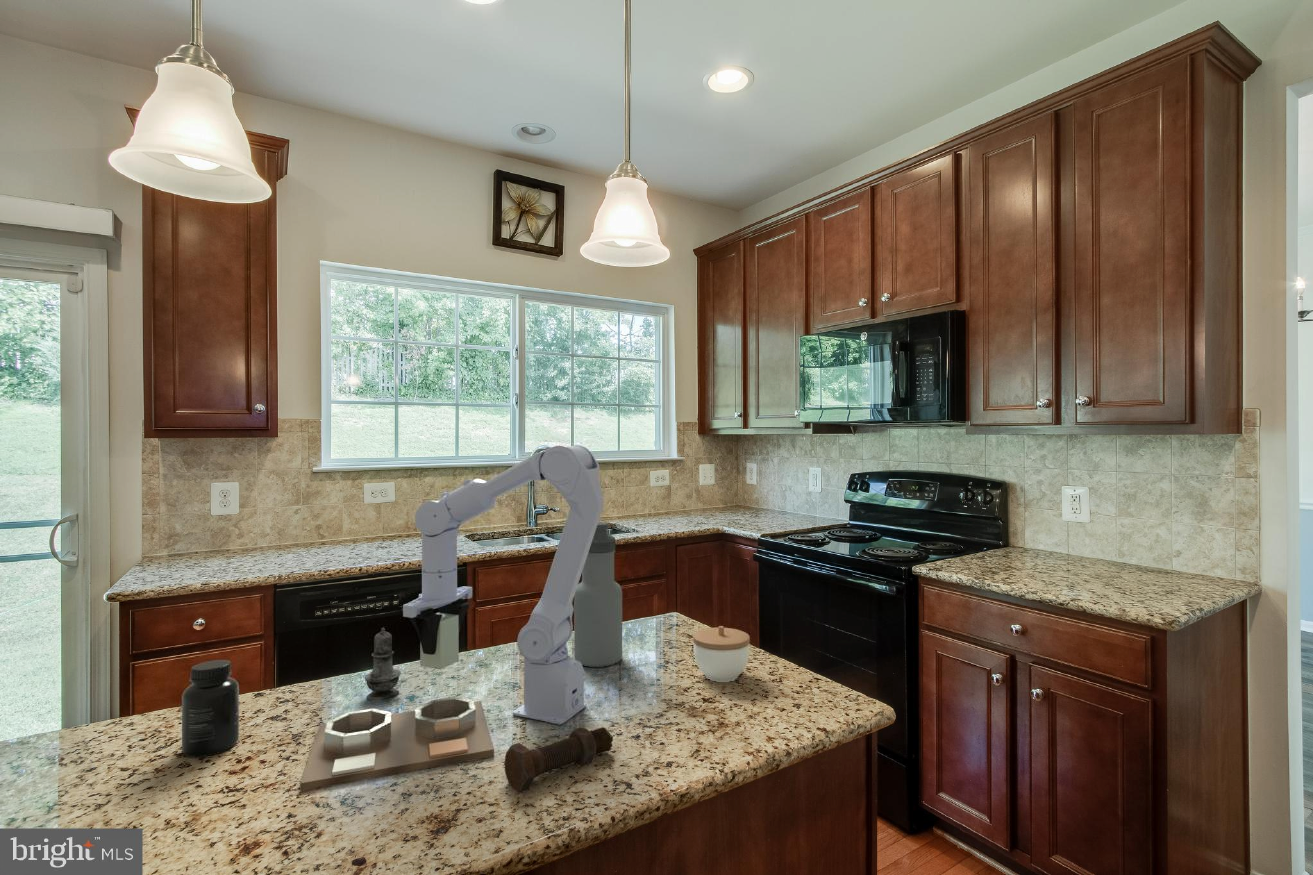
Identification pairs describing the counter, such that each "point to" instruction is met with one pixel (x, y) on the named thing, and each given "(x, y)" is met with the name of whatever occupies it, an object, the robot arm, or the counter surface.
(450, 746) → the tags
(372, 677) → the salt shaker
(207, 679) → the supplement bottle
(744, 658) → the lidded jar
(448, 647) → the sage plug
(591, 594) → the water bottle
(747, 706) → the counter surface
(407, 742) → the walnut board
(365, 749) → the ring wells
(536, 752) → the bolt
